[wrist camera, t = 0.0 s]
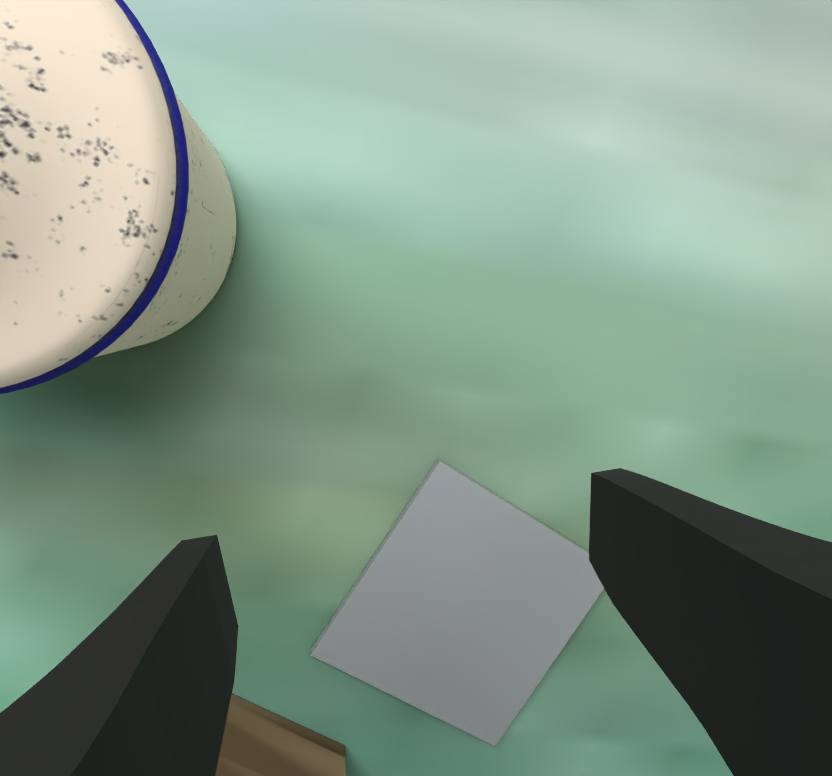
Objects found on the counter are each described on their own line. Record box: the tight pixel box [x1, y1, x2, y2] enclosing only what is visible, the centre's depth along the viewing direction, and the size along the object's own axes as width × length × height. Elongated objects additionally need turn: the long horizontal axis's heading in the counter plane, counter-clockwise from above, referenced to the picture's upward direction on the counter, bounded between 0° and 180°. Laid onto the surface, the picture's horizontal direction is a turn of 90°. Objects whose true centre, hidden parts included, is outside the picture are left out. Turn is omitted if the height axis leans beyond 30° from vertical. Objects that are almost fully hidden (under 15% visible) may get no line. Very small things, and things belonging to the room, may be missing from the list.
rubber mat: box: [311, 459, 604, 746], centre depth 23 cm, size 9×9×1 cm
